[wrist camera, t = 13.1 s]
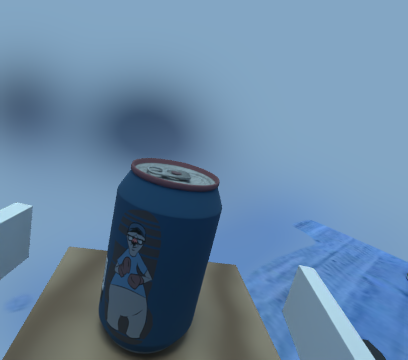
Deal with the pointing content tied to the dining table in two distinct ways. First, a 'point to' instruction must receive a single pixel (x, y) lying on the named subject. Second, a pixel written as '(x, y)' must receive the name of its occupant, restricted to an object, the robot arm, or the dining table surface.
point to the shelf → (117, 356)
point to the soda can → (158, 253)
